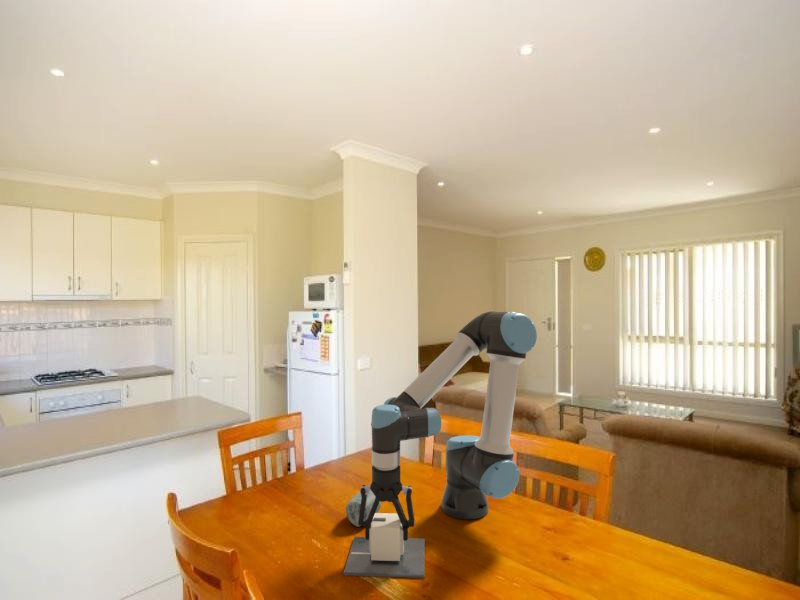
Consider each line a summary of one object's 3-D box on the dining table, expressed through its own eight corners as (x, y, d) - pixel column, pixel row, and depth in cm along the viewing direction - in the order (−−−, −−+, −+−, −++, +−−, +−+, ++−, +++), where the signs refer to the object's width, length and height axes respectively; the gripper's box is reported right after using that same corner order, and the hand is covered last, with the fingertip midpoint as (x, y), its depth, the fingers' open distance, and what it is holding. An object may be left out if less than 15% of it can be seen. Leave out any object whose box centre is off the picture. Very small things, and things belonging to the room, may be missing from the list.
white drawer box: (401, 544, 119) (401, 512, 119) (399, 561, 111) (399, 526, 111) (374, 543, 119) (374, 511, 119) (371, 560, 112) (370, 525, 112)
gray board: (424, 541, 122) (424, 522, 122) (424, 577, 106) (424, 556, 106) (354, 539, 124) (354, 521, 124) (343, 575, 108) (343, 554, 108)
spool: (367, 523, 126) (358, 488, 130) (342, 532, 130) (335, 497, 134) (392, 515, 137) (383, 482, 141) (369, 523, 141) (361, 491, 145)
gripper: (424, 460, 118) (425, 544, 118) (350, 459, 119) (351, 542, 119) (424, 471, 111) (425, 560, 111) (345, 470, 112) (346, 558, 112)
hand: (386, 551), depth 115 cm, fingers closed on white drawer box, 7 cm apart
